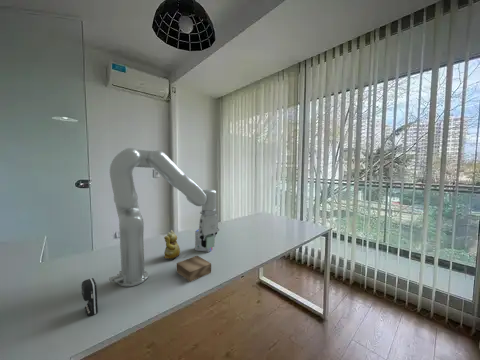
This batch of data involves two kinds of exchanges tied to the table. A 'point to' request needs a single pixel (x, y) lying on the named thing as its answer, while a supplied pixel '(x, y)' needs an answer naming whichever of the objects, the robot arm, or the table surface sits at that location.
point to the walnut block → (193, 268)
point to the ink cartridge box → (198, 244)
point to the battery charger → (90, 296)
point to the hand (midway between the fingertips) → (207, 245)
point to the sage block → (209, 241)
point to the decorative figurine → (171, 246)
